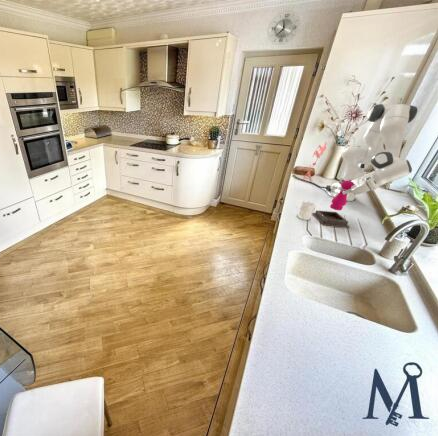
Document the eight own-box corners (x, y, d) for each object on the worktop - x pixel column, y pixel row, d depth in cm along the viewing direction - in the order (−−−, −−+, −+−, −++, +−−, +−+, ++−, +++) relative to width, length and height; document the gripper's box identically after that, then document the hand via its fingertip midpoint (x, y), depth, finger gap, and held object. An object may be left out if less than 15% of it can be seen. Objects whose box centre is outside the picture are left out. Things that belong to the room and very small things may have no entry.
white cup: (309, 216, 157) (315, 203, 152) (310, 221, 150) (317, 208, 145) (296, 213, 159) (301, 200, 154) (297, 218, 153) (302, 205, 148)
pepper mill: (344, 211, 145) (361, 181, 135) (332, 210, 146) (347, 180, 136) (339, 206, 151) (354, 177, 141) (326, 205, 152) (341, 175, 142)
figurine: (301, 182, 214) (317, 143, 197) (302, 174, 233) (317, 138, 216) (321, 185, 207) (339, 146, 190) (320, 177, 227) (337, 140, 209)
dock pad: (311, 213, 160) (313, 209, 158) (334, 215, 159) (337, 211, 157) (323, 225, 147) (325, 220, 145) (348, 227, 146) (351, 222, 144)
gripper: (367, 171, 140) (340, 182, 150) (370, 180, 126) (339, 192, 136) (372, 180, 140) (345, 190, 150) (376, 190, 126) (345, 201, 136)
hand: (342, 191), depth 143 cm, fingers closed on pepper mill, 5 cm apart
